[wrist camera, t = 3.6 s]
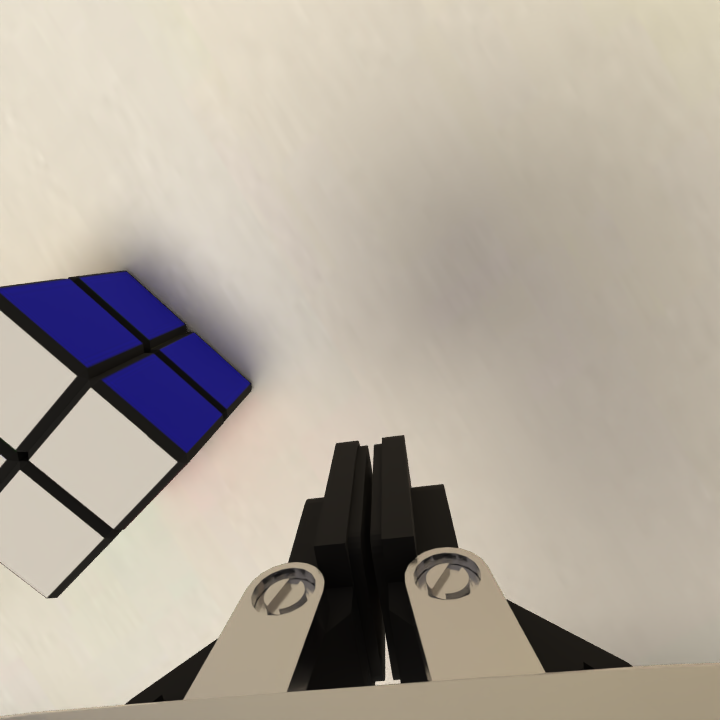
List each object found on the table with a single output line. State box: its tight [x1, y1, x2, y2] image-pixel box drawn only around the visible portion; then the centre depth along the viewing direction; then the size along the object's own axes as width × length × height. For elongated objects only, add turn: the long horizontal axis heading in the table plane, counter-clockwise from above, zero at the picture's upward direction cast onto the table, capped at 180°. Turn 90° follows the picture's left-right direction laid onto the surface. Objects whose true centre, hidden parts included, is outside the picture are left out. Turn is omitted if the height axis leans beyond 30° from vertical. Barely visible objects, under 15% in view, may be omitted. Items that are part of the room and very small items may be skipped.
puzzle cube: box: [0, 271, 251, 598], centre depth 24 cm, size 10×10×10 cm
